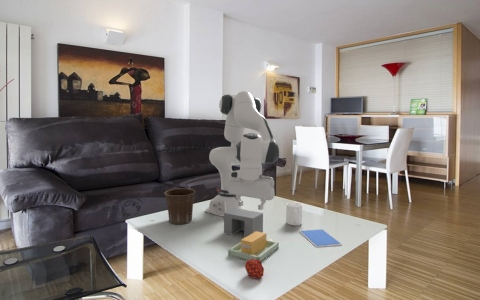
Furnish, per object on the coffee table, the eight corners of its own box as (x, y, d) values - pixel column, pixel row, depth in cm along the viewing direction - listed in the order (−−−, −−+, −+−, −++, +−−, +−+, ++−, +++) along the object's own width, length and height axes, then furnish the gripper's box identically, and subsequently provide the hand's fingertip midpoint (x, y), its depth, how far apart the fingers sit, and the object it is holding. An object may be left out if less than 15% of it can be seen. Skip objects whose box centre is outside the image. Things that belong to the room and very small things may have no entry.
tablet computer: (342, 246, 142) (342, 243, 142) (316, 248, 139) (316, 245, 139) (322, 231, 161) (322, 229, 161) (298, 233, 158) (299, 230, 158)
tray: (228, 255, 130) (228, 249, 130) (250, 241, 146) (250, 236, 145) (258, 263, 123) (258, 257, 123) (278, 248, 138) (278, 242, 138)
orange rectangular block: (240, 254, 130) (240, 240, 129) (256, 244, 140) (256, 231, 140) (250, 257, 127) (250, 242, 127) (266, 247, 138) (266, 233, 137)
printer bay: (223, 233, 156) (223, 212, 155) (234, 227, 164) (235, 208, 164) (252, 239, 148) (253, 218, 147) (262, 233, 156) (263, 213, 155)
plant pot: (181, 228, 162) (181, 196, 161) (158, 222, 171) (157, 192, 169) (201, 219, 176) (201, 190, 175) (179, 215, 185) (179, 187, 183)
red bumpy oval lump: (254, 287, 110) (238, 272, 115) (266, 277, 115) (249, 263, 119) (259, 274, 108) (242, 259, 112) (271, 265, 112) (254, 250, 117)
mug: (303, 228, 163) (304, 208, 162) (287, 228, 164) (287, 208, 163) (300, 221, 175) (301, 202, 174) (285, 220, 176) (285, 202, 175)
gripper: (277, 175, 127) (276, 209, 129) (234, 170, 138) (233, 202, 139) (270, 178, 122) (269, 213, 123) (225, 172, 132) (225, 205, 134)
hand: (250, 207), depth 131 cm, fingers open, 8 cm apart
